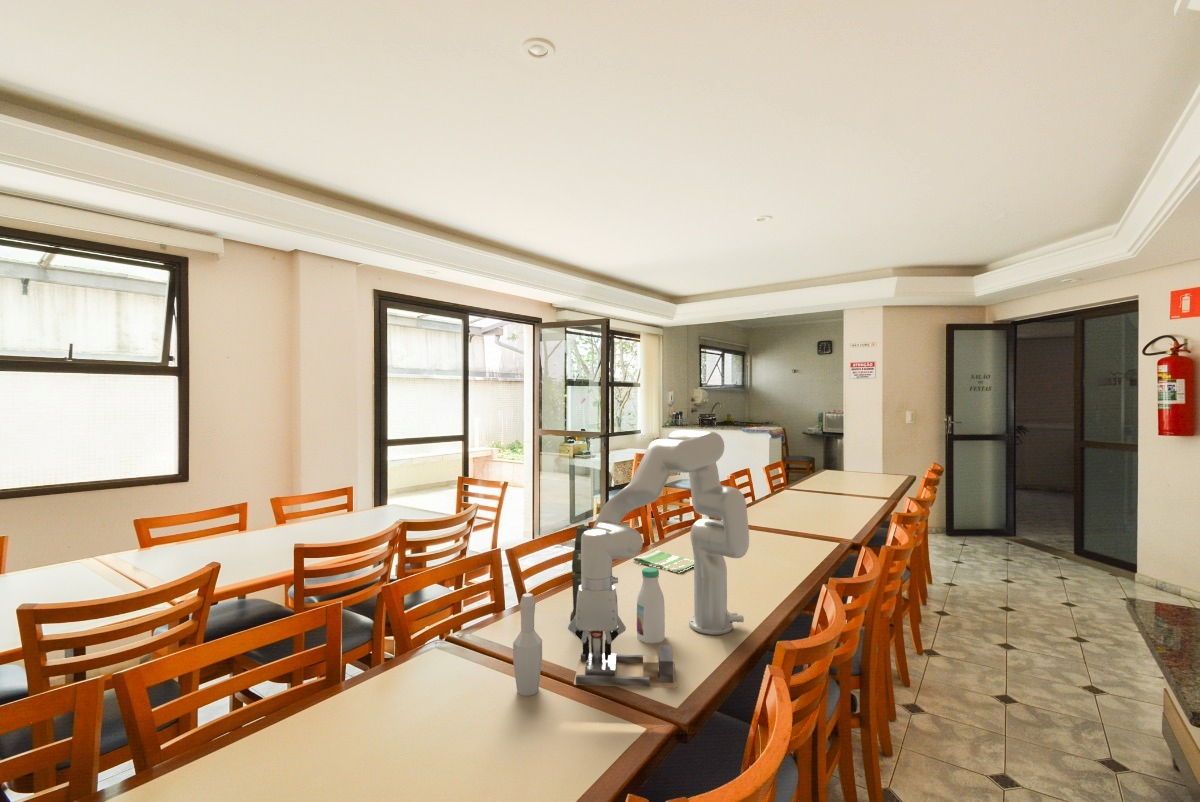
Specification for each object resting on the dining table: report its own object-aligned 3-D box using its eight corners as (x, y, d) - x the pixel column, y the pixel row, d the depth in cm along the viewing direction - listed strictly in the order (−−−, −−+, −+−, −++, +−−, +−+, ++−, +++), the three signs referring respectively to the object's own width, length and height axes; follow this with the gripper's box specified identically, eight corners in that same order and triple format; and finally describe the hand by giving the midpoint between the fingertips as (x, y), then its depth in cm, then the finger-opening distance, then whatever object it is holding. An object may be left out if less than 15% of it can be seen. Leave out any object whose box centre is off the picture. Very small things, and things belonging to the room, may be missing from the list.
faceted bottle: (529, 701, 117) (529, 602, 118) (508, 692, 121) (507, 596, 121) (547, 687, 123) (546, 593, 123) (526, 680, 126) (525, 588, 126)
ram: (616, 663, 131) (616, 624, 131) (614, 680, 123) (614, 638, 123) (588, 662, 132) (588, 623, 132) (585, 679, 124) (585, 637, 124)
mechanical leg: (587, 635, 149) (592, 525, 156) (562, 632, 150) (569, 524, 157) (597, 627, 162) (601, 526, 169) (574, 625, 163) (579, 525, 170)
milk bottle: (667, 637, 149) (667, 566, 149) (661, 649, 142) (661, 575, 142) (640, 633, 152) (640, 564, 152) (633, 645, 144) (633, 572, 144)
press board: (674, 666, 132) (674, 642, 132) (678, 693, 120) (677, 665, 120) (579, 663, 134) (579, 639, 134) (573, 689, 122) (573, 662, 122)
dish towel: (679, 575, 204) (679, 568, 204) (632, 563, 220) (632, 557, 220) (703, 565, 217) (703, 558, 217) (657, 554, 233) (657, 548, 233)
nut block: (657, 670, 128) (657, 655, 128) (658, 677, 125) (658, 662, 125) (643, 669, 129) (643, 655, 129) (643, 677, 125) (643, 662, 125)
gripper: (631, 577, 131) (631, 651, 131) (564, 576, 132) (564, 649, 132) (631, 588, 124) (631, 666, 123) (560, 586, 125) (560, 664, 125)
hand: (597, 656), depth 128 cm, fingers open, 4 cm apart
